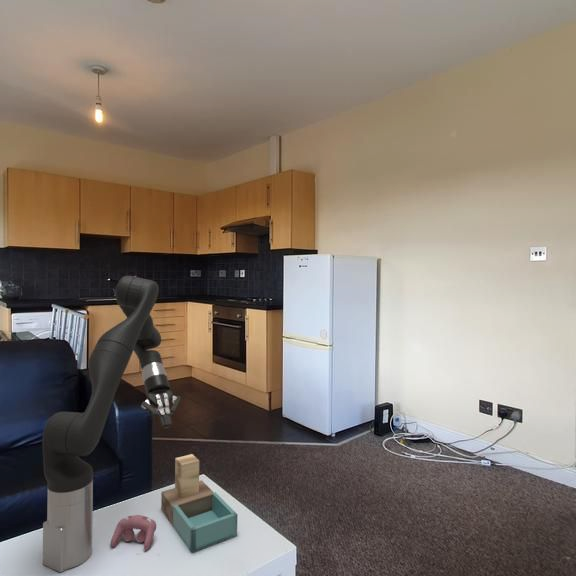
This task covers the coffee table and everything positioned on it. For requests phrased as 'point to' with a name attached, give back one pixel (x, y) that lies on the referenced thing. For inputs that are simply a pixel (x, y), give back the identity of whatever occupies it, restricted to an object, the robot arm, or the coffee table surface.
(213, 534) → the bin
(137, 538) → the pink arched piece
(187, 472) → the maple block
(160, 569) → the coffee table surface
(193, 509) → the brown wooden block
